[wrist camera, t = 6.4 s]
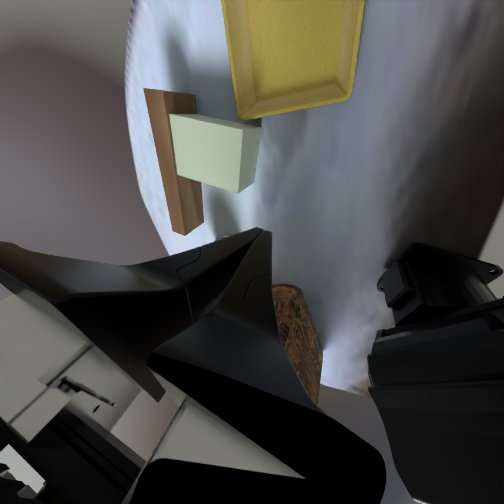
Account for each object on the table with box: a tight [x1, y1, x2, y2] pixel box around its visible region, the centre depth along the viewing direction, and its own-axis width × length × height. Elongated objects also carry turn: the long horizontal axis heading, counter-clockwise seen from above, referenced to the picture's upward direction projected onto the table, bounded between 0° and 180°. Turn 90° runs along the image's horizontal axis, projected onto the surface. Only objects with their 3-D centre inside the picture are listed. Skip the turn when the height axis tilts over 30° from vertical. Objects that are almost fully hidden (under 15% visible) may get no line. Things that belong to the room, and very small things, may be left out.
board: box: [144, 88, 204, 236], centre depth 20 cm, size 2×14×4 cm, turn 172°
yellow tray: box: [221, 0, 365, 121], centre depth 12 cm, size 9×9×2 cm
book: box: [272, 284, 323, 405], centre depth 21 cm, size 16×6×25 cm, turn 24°
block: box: [169, 114, 261, 193], centre depth 17 cm, size 7×5×4 cm
